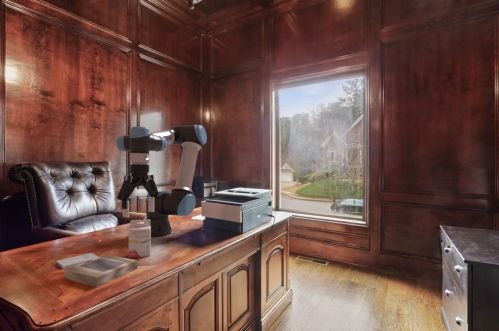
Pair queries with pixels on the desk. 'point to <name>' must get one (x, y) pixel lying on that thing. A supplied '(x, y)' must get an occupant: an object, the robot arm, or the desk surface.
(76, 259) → the external hard drive
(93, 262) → the ash base block
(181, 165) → the robot arm
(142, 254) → the ink cartridge box
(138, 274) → the desk surface
